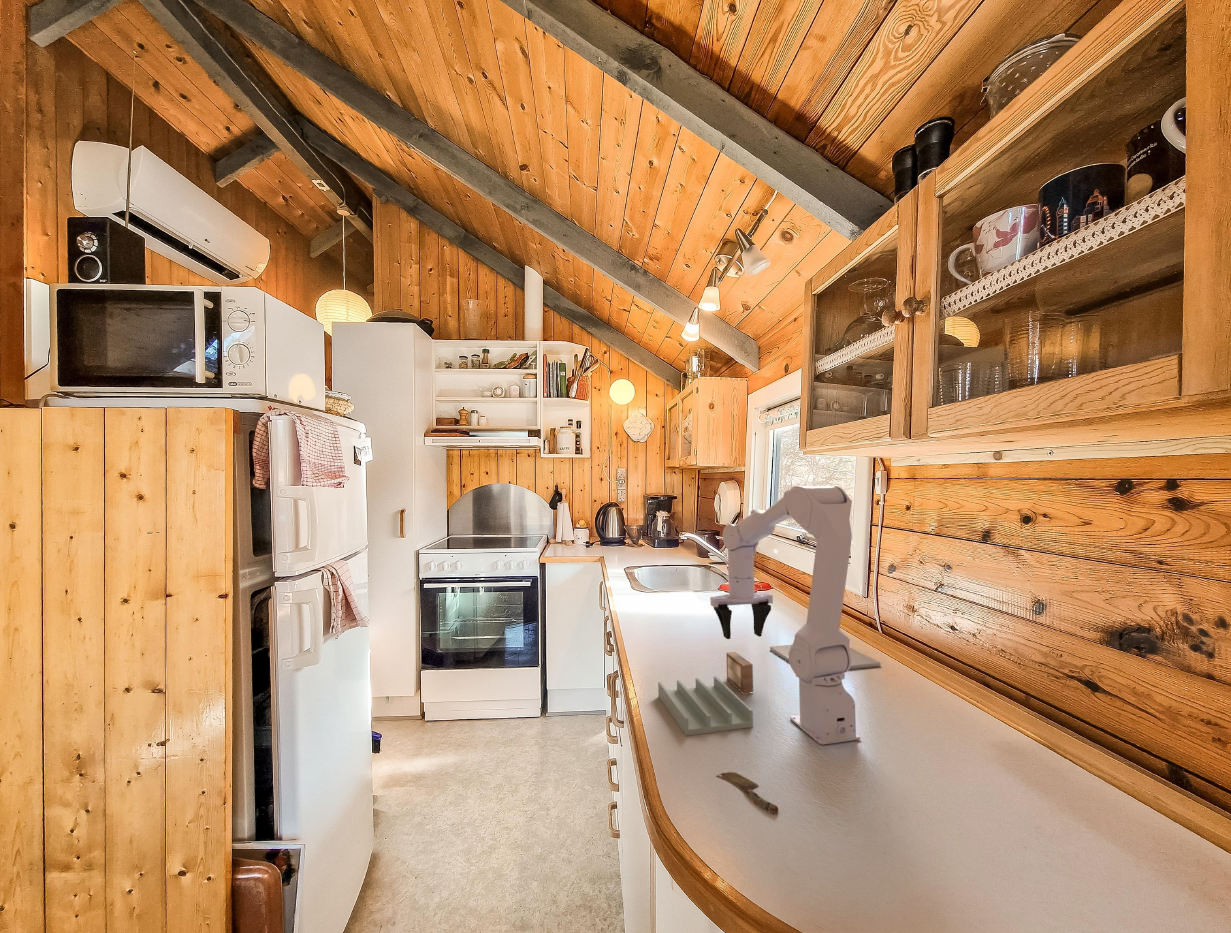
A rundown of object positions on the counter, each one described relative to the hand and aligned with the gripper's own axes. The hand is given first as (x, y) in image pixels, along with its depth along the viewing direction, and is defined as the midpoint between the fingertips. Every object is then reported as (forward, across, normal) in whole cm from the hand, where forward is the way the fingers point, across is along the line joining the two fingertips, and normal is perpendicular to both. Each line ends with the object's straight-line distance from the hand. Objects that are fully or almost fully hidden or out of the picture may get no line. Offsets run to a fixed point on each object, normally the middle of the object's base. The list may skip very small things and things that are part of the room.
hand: (742, 636), depth 110 cm
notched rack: (+10, +15, +12) cm, 22 cm away
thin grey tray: (+10, -25, -7) cm, 28 cm away
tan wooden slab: (+10, +2, +3) cm, 10 cm away
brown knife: (+10, +18, +36) cm, 42 cm away
